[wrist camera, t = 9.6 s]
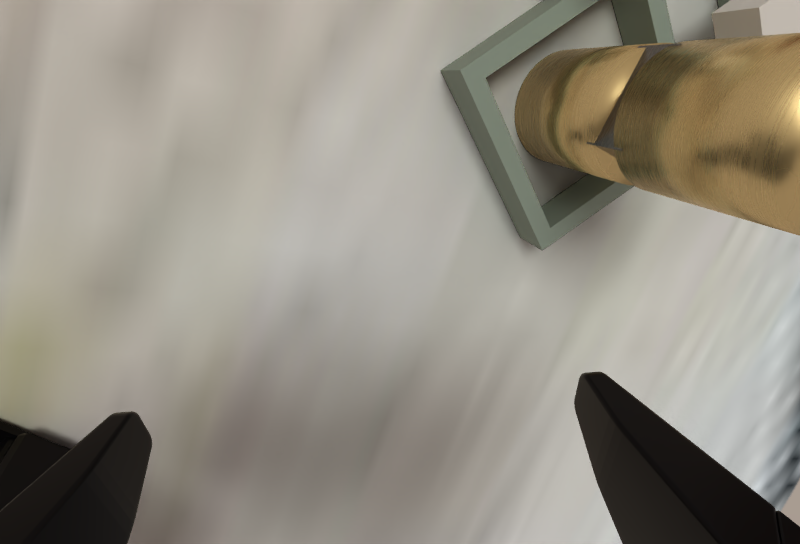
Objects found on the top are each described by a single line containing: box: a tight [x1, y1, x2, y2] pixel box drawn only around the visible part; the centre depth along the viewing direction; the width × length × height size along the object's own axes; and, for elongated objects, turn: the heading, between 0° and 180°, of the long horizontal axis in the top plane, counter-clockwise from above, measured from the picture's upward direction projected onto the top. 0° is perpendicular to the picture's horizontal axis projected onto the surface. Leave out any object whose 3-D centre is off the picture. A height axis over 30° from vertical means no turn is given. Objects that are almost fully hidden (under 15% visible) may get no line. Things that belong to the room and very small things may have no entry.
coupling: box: [515, 33, 800, 235], centre depth 17 cm, size 5×5×12 cm
